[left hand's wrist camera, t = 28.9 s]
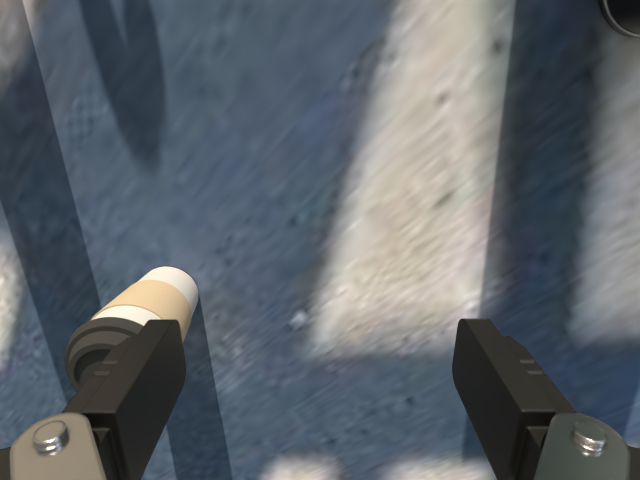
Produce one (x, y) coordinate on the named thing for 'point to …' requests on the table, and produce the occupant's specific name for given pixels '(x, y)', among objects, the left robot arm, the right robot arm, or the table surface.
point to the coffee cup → (130, 319)
